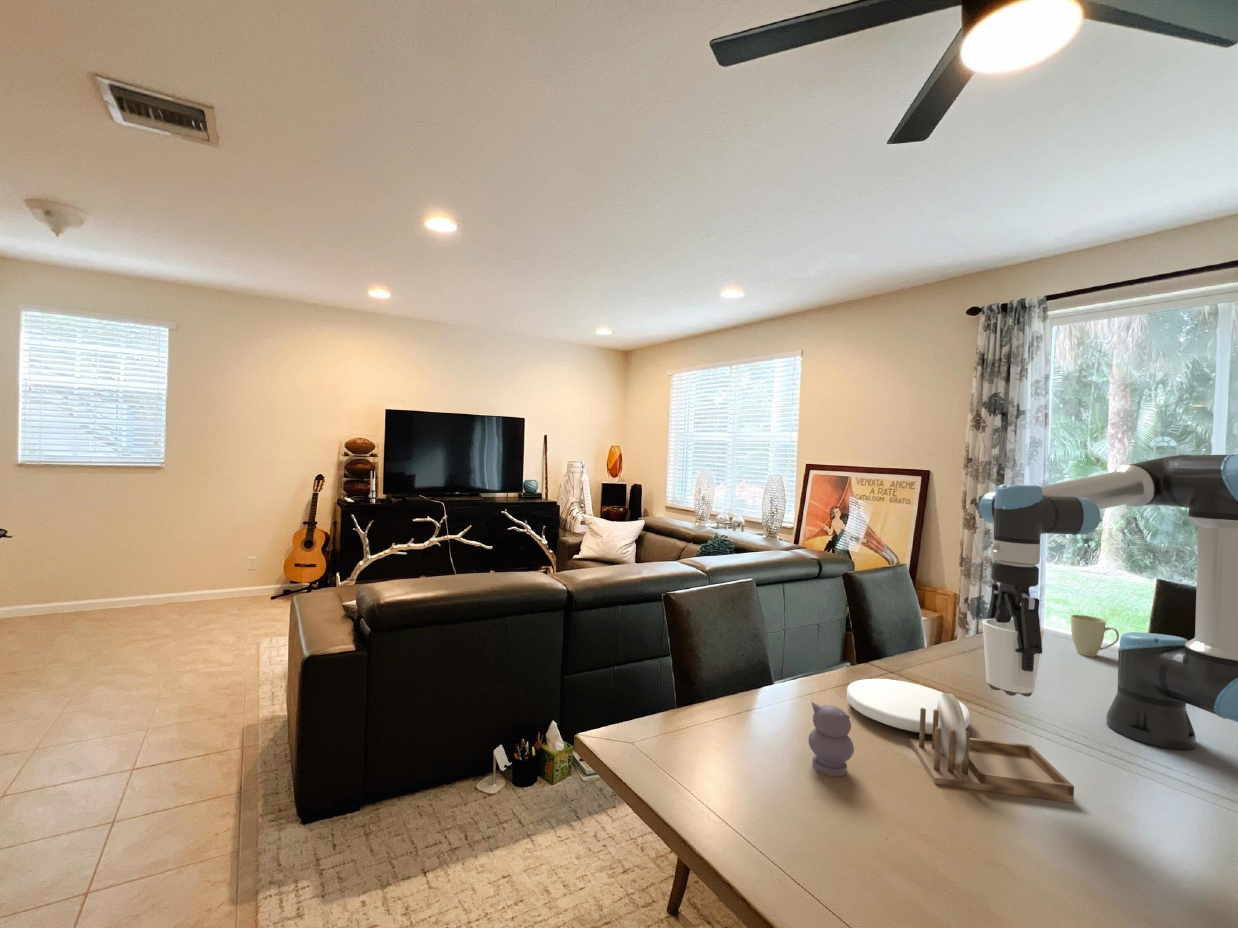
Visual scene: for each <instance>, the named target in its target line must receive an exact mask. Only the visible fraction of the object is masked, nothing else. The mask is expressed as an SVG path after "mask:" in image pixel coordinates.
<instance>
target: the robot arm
mask: <svg viewBox="0 0 1238 928" xmlns="http://www.w3.org/2000/svg"><path fill="white" fill-rule="evenodd" d="M1124 505H1126V506H1127V507H1128V506H1129V507H1137V508H1138V507H1142V506H1164V507H1165V506H1166V507H1167V506H1168V507H1176V508H1177V507H1178V508H1185V509H1186V508H1187V509H1188V518H1189V519H1190V520H1191V521H1192V522H1194V523H1195V524H1196V525H1197V526H1198V528H1197V529H1198V530H1197V557H1196V562H1197V563H1196V567H1197V568H1196V589H1195V590H1196V594H1195V595H1196V596H1195V599H1196V600H1195V623H1194V624H1195V629H1194V630H1195V631H1194V633H1195V634H1194V638H1192V639H1190V640H1188V639H1187V638H1184V637H1181V636H1176V635H1170V634H1162V633H1151V632H1126V633H1124V634H1122V635H1121V636H1120V637H1119V638H1120V639H1119V647H1118V649H1117V651H1118V657H1117V658H1118V662H1117V663H1118V664H1117V692H1116V695H1115V697H1114V699H1113V701H1112V702H1111V705H1110V707H1109V709H1108V711H1106V718H1105V719H1106V720H1105V721H1106V725H1107V726H1108V727H1109V728H1110V729H1111V730H1113V731H1114V732H1115V733H1118V734H1120V735H1122V736H1124V737H1127V738H1128V739H1132V740H1134V741H1138V742H1141V743H1144V744H1147V745H1151V746H1155V747H1160V748H1164V749H1171V750H1182V751H1186V750H1193V749H1195V748H1196V742H1197V741H1196V739H1197V737H1196V733H1195V729H1194V728H1193V725H1192V721H1191V719H1190V717H1189V714H1188V712H1187V704H1188V705H1190V706H1192V707H1196V708H1198V709H1201V710H1203V711H1206V712H1208V713H1210V714H1213V715H1216V716H1218V717H1220V718H1222V719H1227V720H1230V721H1234V722H1235V723H1238V453H1235V454H1234V453H1233V454H1191V455H1190V454H1177V455H1169V456H1163V457H1158V458H1153V459H1149V460H1144V461H1141V462H1136V463H1131V464H1125V465H1121V466H1119V467H1117V468H1115V470H1114V471H1113V472H1107V473H1103V474H1097V475H1091V476H1087V477H1082V478H1076V479H1072V480H1066V481H1060V482H1056V483H1055V482H1054V483H1050V484H1045V485H1032V484H1031V485H1029V484H1028V485H1027V484H1010V483H1009V484H1007V483H1006V484H1004V483H1003V484H1000V485H998V486H997V487H996V490H995V491H990V492H987V493H985V494H984V495H983V496H982V497H981V499H980V500H979V504H978V511H979V513H980V516H981V518H982V519H983V520H984V521H985V522H987V523H989V524H993V544H992V545H991V550H992V558H993V559H994V560H995V561H994V562H993V563H992V566H991V567H992V568H991V578H992V580H993V581H994V582H996V583H992V584H991V597H990V603H989V608H988V613H987V618H986V619H996V621H997V622H999V623H1007V622H1010V620H1013V621H1014V626H1015V631H1017V632H1018V634H1017V641H1018V646H1019V648H1017V649H1016V650H1015V651H1016V670H1015V686H1017V687H1025V688H1033V676H1034V654H1040V655H1042V654H1043V640H1042V641H1041V631H1040V628H1041V621H1040V613H1039V612H1040V611H1039V610H1040V599H1039V598H1036V597H1031V594H1030V588H1031V587H1037V586H1038V585H1039V581H1040V578H1039V577H1040V576H1039V574H1040V568H1039V567H1038V566H1037V565H1038V564H1040V563H1041V562H1040V560H1041V535H1042V534H1052V535H1053V534H1054V535H1072V536H1077V535H1088V534H1090V533H1092V532H1094V531H1095V530H1096V529H1097V528H1098V527H1099V524H1100V523H1101V511H1100V510H1104V509H1108V508H1109V509H1110V508H1115V507H1118V506H1120V507H1121V506H1124Z"/></svg>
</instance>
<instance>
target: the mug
mask: <svg viewBox="0 0 1238 928" xmlns="http://www.w3.org/2000/svg"><path fill="white" fill-rule="evenodd" d="M1106 622H1107V621H1106V620H1104V619H1102V618H1099V617H1095V616H1090V615H1084V614H1071V615H1070V623H1071V624H1070V625H1071V627H1070V628H1071V629H1070V630H1071V638H1072V640H1073V645H1074V647H1075V650H1076V652H1077V653H1076V654H1078V655H1081V656H1083V657H1084V656H1085V657H1089V656H1090V657H1091V658H1095V656H1096V657H1097V654H1098V653H1099V651H1102V650H1104V649H1105V650H1106V649H1108V648H1110V647H1112V646H1114V645H1116V644H1117V642H1118V641H1119V640H1120V639H1119V638H1120V633H1119V631H1118V630H1117V629H1116V628H1115V627H1106ZM1110 630H1112V631H1114V632H1115V634H1116V639H1115V640H1114V641H1113V642H1112V643H1110V644H1108V645H1106V646H1104V647H1102V644H1103V641H1104V638H1105V633H1106V632H1108V631H1110Z"/></svg>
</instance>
